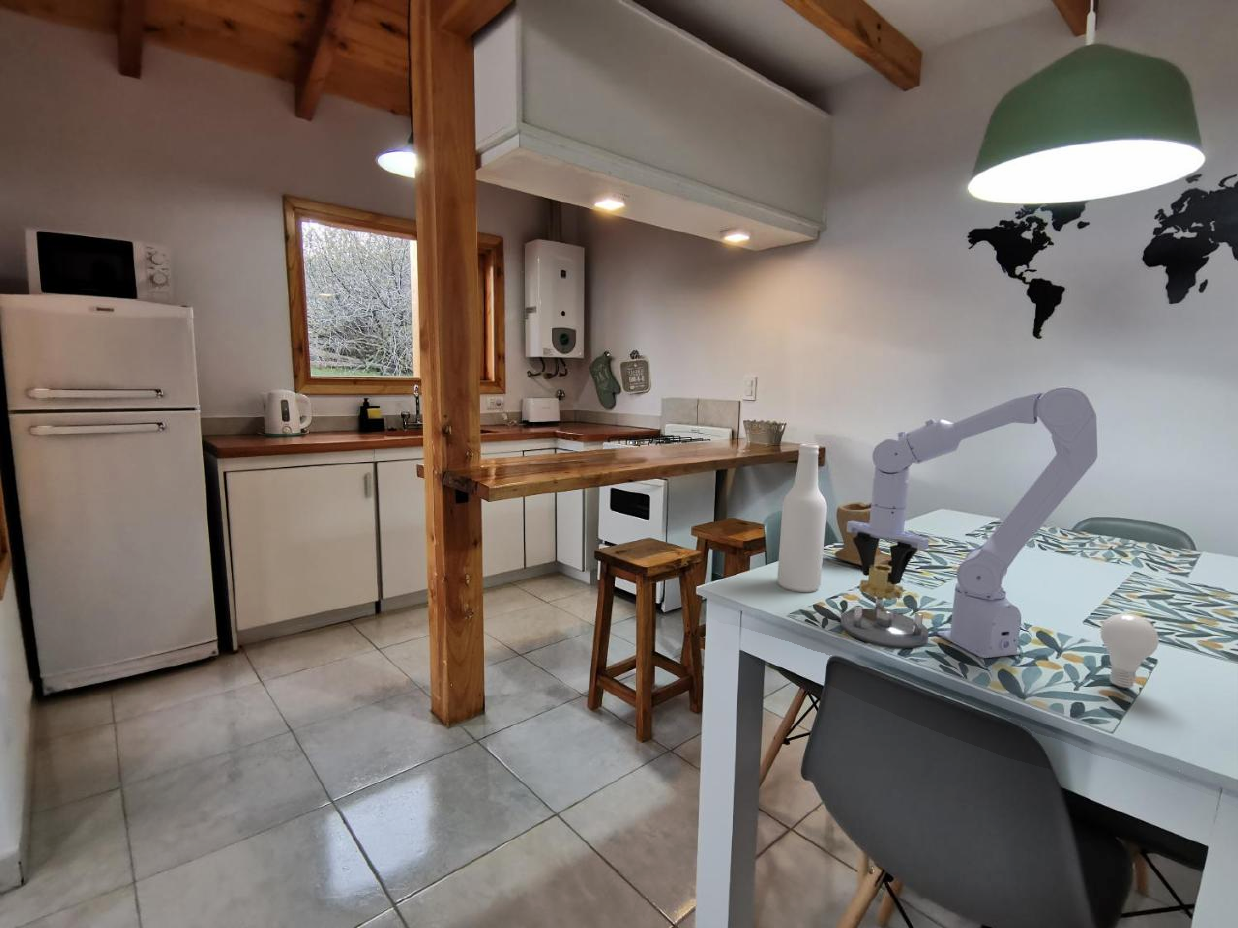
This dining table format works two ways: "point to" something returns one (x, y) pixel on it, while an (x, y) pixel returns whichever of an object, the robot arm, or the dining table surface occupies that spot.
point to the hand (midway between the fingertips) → (881, 578)
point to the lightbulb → (1127, 646)
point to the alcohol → (803, 527)
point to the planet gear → (880, 583)
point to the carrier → (885, 627)
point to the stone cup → (859, 514)
